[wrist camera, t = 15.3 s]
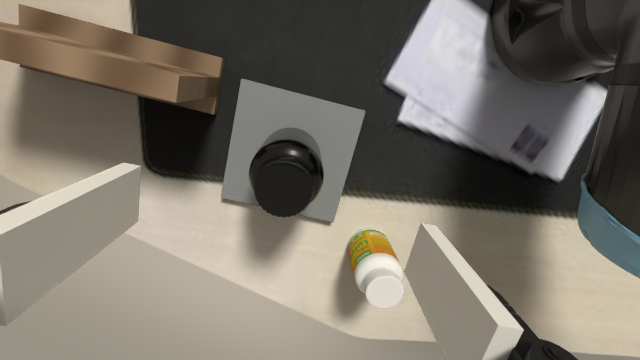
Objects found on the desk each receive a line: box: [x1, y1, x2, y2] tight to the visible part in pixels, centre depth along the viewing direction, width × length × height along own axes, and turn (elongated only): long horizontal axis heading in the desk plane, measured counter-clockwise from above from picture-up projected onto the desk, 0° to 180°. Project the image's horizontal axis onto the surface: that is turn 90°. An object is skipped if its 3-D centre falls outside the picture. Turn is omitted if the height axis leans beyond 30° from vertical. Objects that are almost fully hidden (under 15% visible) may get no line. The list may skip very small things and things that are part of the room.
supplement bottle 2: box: [348, 228, 404, 308], centre depth 37 cm, size 5×5×10 cm
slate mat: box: [221, 79, 365, 222], centre depth 37 cm, size 14×14×1 cm
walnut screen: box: [0, 4, 225, 115], centre depth 28 cm, size 20×6×12 cm, turn 76°
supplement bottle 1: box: [249, 127, 324, 217], centre depth 31 cm, size 7×7×12 cm
